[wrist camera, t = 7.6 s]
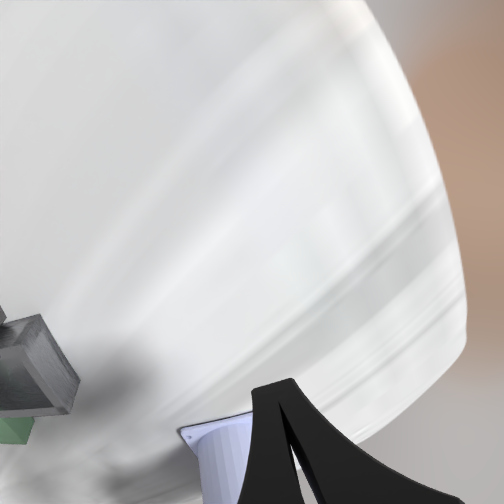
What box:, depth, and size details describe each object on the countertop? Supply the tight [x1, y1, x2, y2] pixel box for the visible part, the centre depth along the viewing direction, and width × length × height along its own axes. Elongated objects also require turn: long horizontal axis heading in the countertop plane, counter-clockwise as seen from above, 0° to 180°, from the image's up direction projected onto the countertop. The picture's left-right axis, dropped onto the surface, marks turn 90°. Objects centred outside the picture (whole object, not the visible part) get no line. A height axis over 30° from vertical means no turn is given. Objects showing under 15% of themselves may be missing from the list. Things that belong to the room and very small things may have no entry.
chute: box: [0, 314, 80, 418], centre depth 17 cm, size 6×8×4 cm
